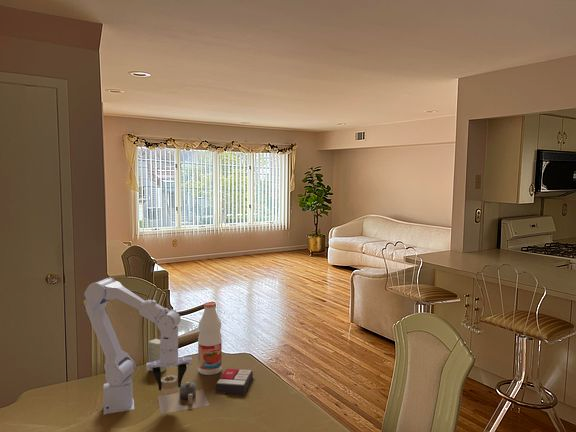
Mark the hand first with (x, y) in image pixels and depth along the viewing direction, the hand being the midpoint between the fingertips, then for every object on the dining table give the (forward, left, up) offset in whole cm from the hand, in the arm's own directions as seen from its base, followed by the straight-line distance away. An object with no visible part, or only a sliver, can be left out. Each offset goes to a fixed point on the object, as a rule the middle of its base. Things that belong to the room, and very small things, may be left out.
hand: (169, 387), depth 144 cm
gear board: (+5, +4, -8) cm, 10 cm away
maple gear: (0, 0, -1) cm, 1 cm away
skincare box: (-1, +35, -8) cm, 36 cm away
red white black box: (+25, +11, -9) cm, 29 cm away
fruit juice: (+19, +27, -8) cm, 34 cm away
